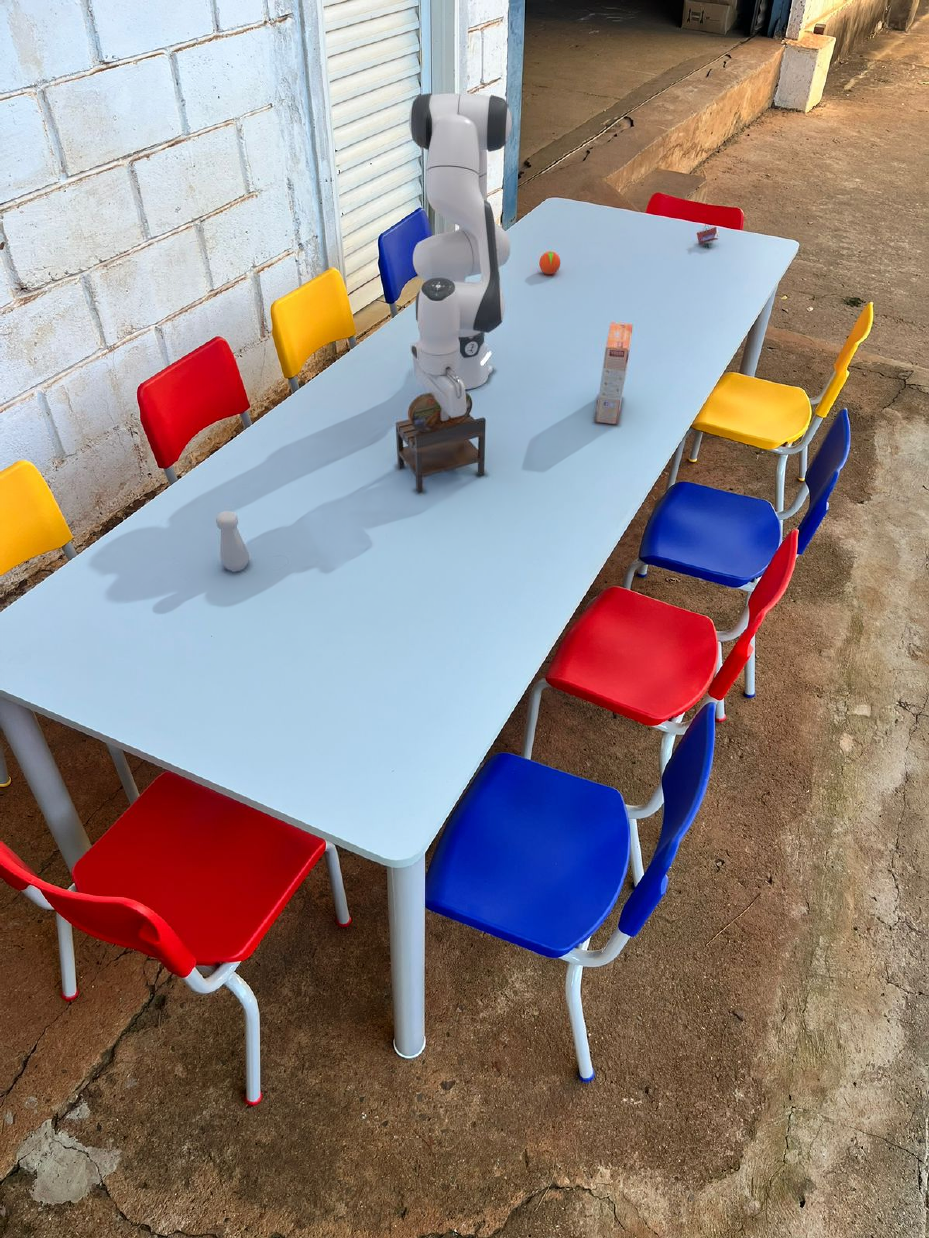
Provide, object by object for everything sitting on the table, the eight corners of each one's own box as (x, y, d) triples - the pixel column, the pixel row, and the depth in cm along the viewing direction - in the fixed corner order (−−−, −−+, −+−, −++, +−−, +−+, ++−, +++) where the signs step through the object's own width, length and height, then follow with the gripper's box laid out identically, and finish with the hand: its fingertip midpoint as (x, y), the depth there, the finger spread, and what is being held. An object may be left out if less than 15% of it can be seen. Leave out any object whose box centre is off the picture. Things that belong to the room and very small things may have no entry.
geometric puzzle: (691, 241, 309) (709, 223, 304) (691, 234, 314) (708, 216, 309) (706, 255, 311) (724, 238, 306) (705, 247, 316) (723, 230, 311)
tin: (412, 436, 200) (411, 403, 194) (406, 428, 202) (405, 396, 196) (472, 420, 205) (473, 388, 198) (466, 413, 206) (467, 381, 200)
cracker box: (618, 426, 226) (629, 349, 212) (594, 423, 227) (604, 346, 213) (622, 398, 236) (633, 323, 222) (599, 395, 237) (609, 320, 223)
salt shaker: (237, 578, 183) (226, 528, 174) (216, 568, 185) (204, 518, 176) (256, 562, 187) (246, 512, 178) (235, 553, 189) (224, 503, 180)
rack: (397, 466, 213) (394, 411, 202) (461, 449, 218) (462, 394, 208) (418, 493, 205) (416, 437, 194) (484, 475, 210) (485, 419, 200)
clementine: (560, 279, 291) (562, 257, 286) (539, 279, 291) (540, 257, 286) (558, 269, 296) (560, 247, 291) (538, 269, 296) (539, 247, 291)
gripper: (474, 377, 186) (473, 434, 195) (433, 335, 199) (434, 391, 209) (446, 383, 184) (447, 441, 193) (407, 341, 197) (409, 397, 207)
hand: (440, 415), depth 201 cm, fingers closed on tin, 2 cm apart
